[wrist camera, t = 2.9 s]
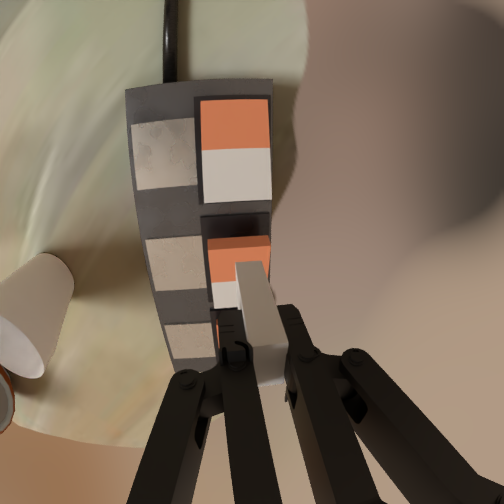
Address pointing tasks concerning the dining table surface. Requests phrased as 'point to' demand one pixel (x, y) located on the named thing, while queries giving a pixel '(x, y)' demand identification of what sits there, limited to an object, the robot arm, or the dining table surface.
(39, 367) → the cup
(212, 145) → the rocker
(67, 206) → the dining table surface
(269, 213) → the power strip
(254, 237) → the rocker
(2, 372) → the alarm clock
